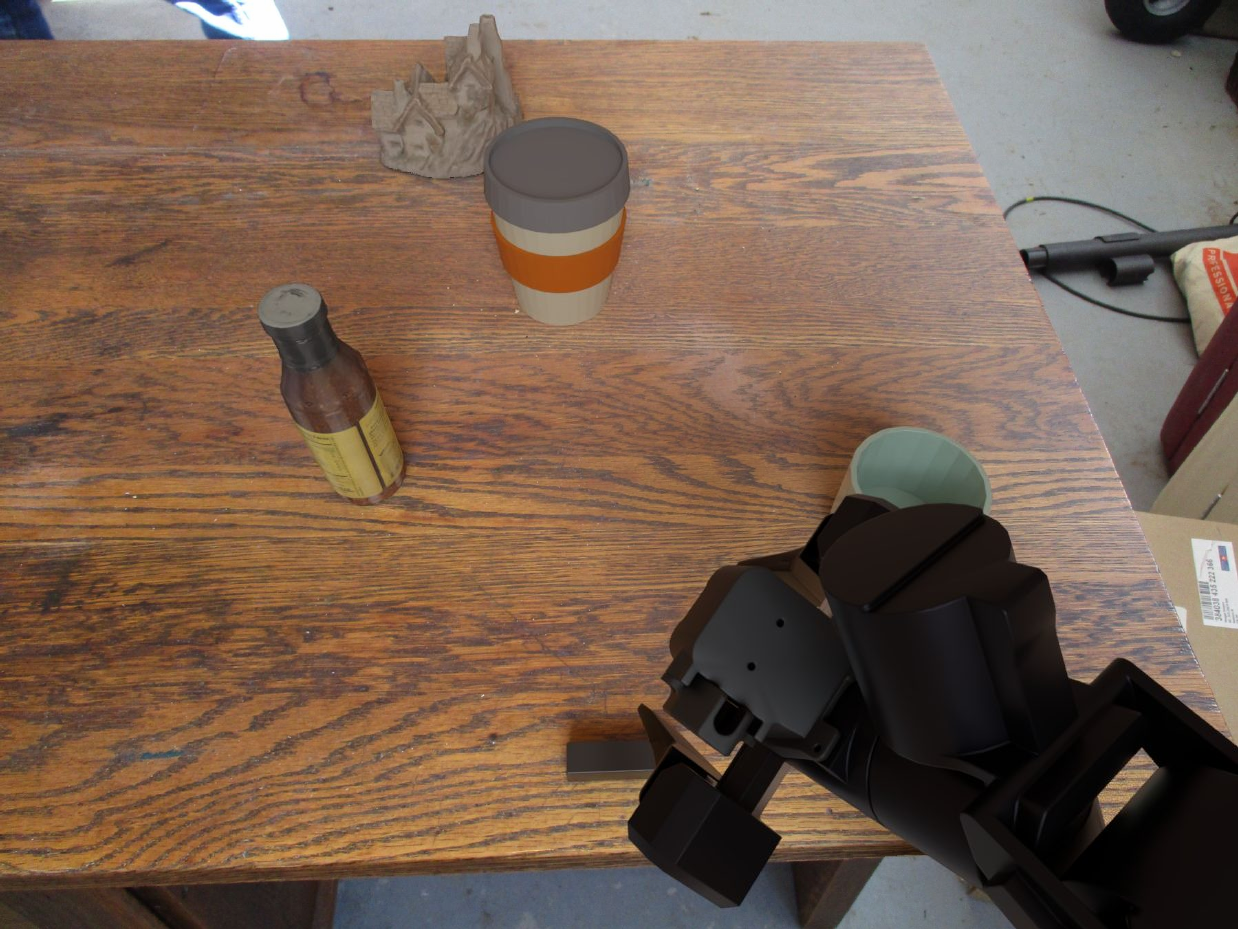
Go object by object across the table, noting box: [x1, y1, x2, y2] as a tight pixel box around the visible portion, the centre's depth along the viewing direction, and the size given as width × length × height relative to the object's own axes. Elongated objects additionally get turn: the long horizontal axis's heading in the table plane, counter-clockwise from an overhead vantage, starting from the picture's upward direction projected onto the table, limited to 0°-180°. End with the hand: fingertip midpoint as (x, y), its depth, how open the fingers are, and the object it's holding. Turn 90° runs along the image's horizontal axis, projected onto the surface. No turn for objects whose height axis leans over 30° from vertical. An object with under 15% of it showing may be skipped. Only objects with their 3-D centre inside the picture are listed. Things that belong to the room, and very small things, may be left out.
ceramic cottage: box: [370, 13, 524, 179], centre depth 90 cm, size 16×16×15 cm
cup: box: [828, 425, 994, 516], centre depth 62 cm, size 10×10×8 cm
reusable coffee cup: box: [483, 116, 631, 327], centre depth 75 cm, size 13×13×15 cm
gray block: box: [565, 739, 656, 783], centre depth 54 cm, size 7×2×2 cm, turn 92°
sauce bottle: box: [256, 282, 407, 506], centre depth 60 cm, size 7×6×20 cm
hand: (693, 637), depth 45 cm, fingers open, 9 cm apart
